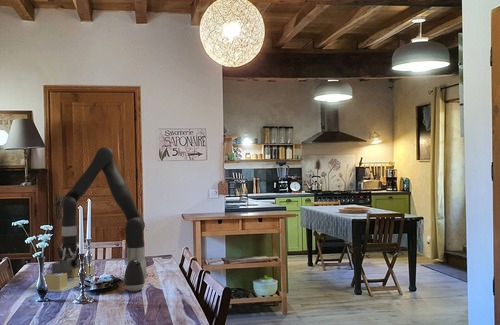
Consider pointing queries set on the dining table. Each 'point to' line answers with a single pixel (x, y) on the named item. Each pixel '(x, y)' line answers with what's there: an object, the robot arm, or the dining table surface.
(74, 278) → the bracket board
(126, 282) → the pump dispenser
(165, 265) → the dining table surface
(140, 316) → the dining table surface
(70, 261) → the rail
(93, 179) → the robot arm
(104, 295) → the dining table surface
